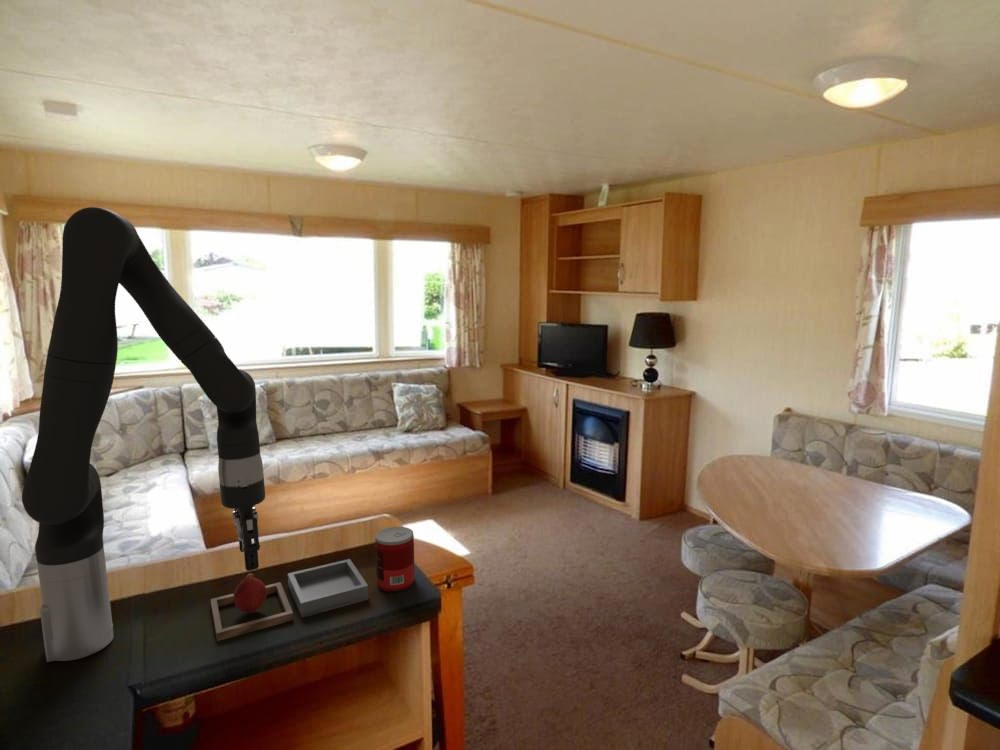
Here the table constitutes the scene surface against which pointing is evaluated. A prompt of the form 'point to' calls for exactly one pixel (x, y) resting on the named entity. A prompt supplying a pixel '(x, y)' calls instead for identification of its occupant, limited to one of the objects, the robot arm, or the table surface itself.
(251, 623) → the square frame
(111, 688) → the table surface
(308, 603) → the bin
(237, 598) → the onion
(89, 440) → the robot arm
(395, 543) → the canned food
